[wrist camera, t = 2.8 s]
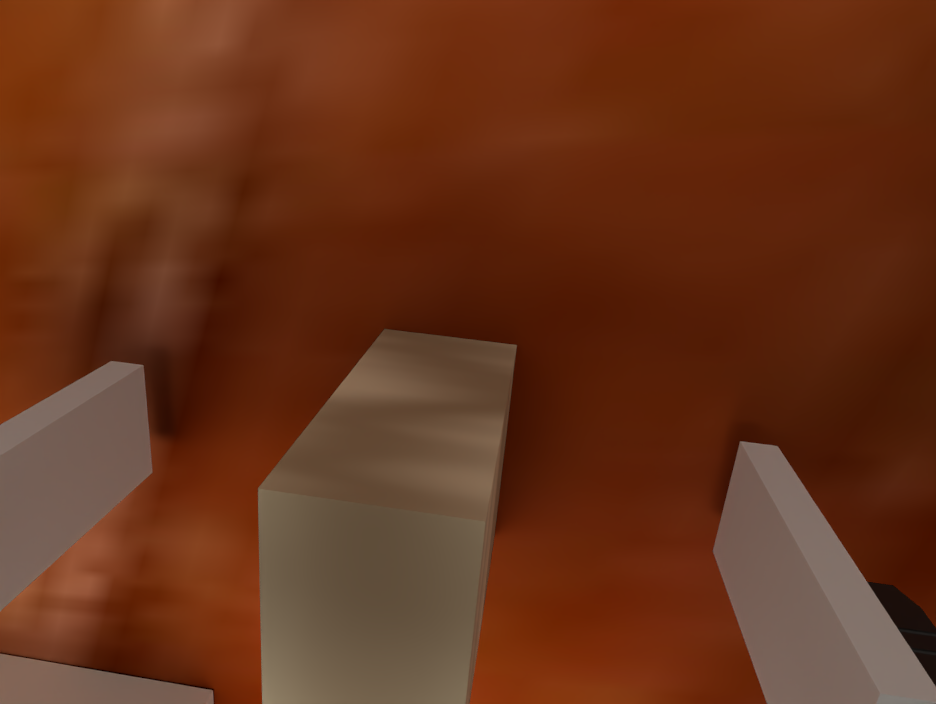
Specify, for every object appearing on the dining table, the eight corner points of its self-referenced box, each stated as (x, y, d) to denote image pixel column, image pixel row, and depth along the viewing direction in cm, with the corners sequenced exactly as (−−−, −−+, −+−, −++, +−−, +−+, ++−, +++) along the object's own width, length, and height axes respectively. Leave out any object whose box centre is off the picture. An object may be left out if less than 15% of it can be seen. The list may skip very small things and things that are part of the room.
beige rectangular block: (516, 345, 15) (486, 521, 9) (494, 535, 17) (454, 802, 10) (384, 328, 16) (258, 488, 9) (375, 518, 17) (263, 767, 11)
